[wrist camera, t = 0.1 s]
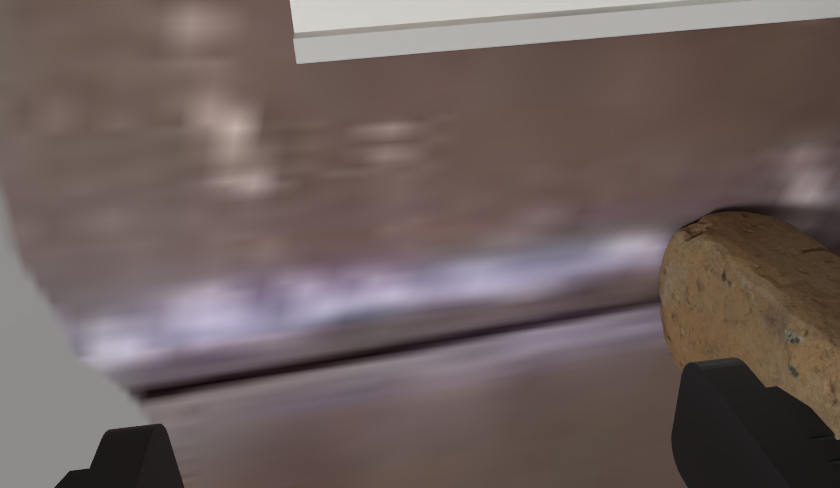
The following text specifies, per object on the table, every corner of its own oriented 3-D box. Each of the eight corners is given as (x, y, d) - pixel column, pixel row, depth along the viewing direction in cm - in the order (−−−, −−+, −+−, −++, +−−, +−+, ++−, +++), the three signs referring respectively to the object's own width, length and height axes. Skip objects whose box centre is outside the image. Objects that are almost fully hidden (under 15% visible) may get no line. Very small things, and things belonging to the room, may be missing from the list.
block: (671, 200, 43) (909, 418, 26) (780, 200, 44) (1081, 410, 26) (636, 340, 48) (815, 603, 31) (735, 337, 49) (962, 590, 32)
